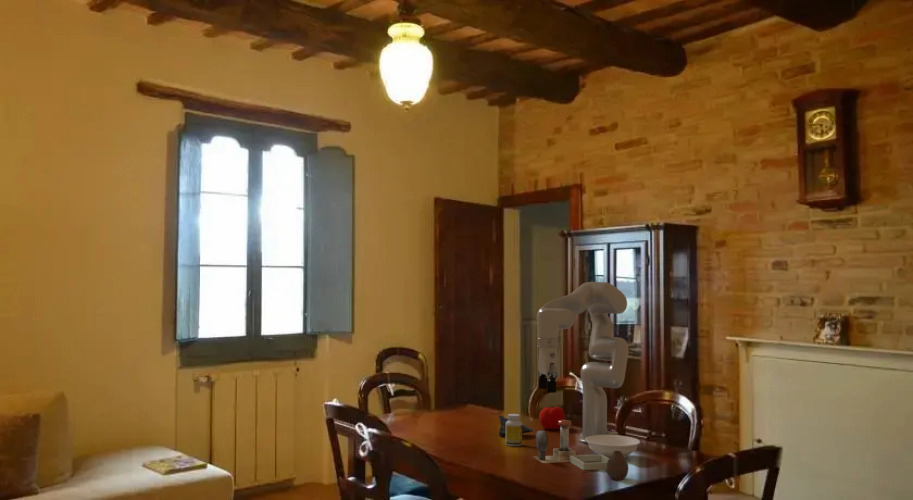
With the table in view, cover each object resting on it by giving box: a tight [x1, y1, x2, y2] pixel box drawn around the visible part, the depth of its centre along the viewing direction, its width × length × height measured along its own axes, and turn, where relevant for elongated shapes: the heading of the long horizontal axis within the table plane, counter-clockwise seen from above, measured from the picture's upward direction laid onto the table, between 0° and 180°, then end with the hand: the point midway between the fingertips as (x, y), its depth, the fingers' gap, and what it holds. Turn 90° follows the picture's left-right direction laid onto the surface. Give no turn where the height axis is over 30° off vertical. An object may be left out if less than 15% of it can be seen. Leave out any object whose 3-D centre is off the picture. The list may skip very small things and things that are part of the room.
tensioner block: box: [532, 430, 577, 464], centre depth 276 cm, size 14×10×11 cm
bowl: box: [585, 434, 641, 458], centre depth 285 cm, size 20×20×6 cm
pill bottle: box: [504, 413, 523, 447], centre depth 304 cm, size 6×6×12 cm
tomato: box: [538, 404, 566, 430], centre depth 339 cm, size 11×13×10 cm
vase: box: [606, 451, 629, 481], centre depth 254 cm, size 7×7×9 cm
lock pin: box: [558, 419, 572, 452], centre depth 277 cm, size 5×5×13 cm
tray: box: [569, 454, 610, 474], centre depth 268 cm, size 12×12×3 cm
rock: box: [498, 414, 535, 437], centre depth 322 cm, size 16×8×10 cm
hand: (547, 390), depth 283 cm, fingers open, 9 cm apart
